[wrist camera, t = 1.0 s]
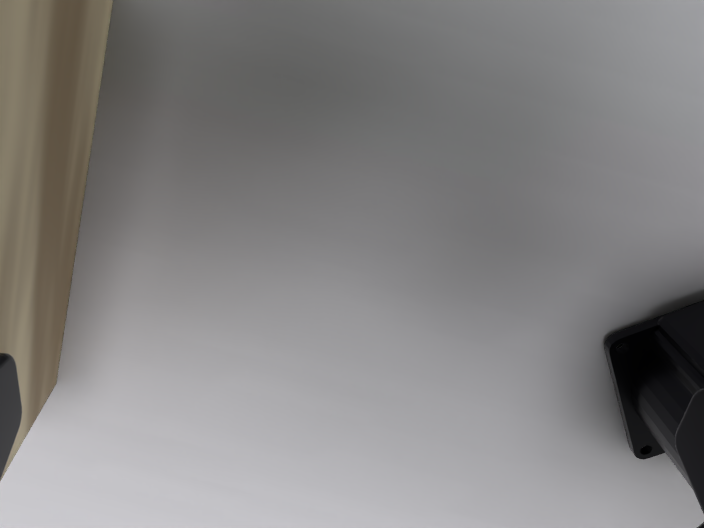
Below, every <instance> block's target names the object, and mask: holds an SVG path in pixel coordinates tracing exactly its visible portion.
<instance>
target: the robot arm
mask: <svg viewBox="0 0 704 528" xmlns="http://www.w3.org/2000/svg"><path fill="white" fill-rule="evenodd" d="M623 343H624V344H623ZM620 344H623V345H622V347H620V348H617V346H618V345H620ZM616 348H617V349H616ZM605 351H606V355H607V359H608V363H609V367H610V371H611V375H612V379H613V383H614V387H615V391H616V395H617V399H618V403H619V407H620V411H621V415H622V418H623V422H624V426H625V430H626V434H627V438H628V442H629V446H630V448H631V450H632V452H633V453H634V455H635V456H636V457H637V458H639V459H647V458H651V457H653V456H656V455H659V454H662V453H665V452H666V454H667V455H668V456H669V458H670V459H671V461H672V462H673V463H674V465H675V466H676V467H677V469H678V470H679V471H680V473H681V474H682V475H683V477H684V478H685V479H686V481H687V482H688V483H689V485H690V486H691V488H692V489H693V490H694V492H695V495H696V497H697V499H698V502H699V504H700V506H701V509H702V511H703V513H704V301H701V302H698V303H696V304H693V305H690V306H687V307H685V308H682V309H679V310H676V311H674V312H671V313H668V314H665V315H663V316H660V317H657V318H654V319H652V320H649V321H646V322H643V323H641V324H638V325H635V326H633V327H630V328H627V329H624V330H622V331H619V332H616V333H614V334H612V335H610V336H609V337H608V338H607V339H606V342H605ZM21 418H22V403H21V396H20V389H19V382H18V375H17V367H16V363H15V360H14V358H13V357H12V356H11V355H9V354H7V353H0V480H1V477H2V474H3V471H4V469H5V466H6V463H7V460H8V458H9V455H10V452H11V449H12V447H13V444H14V441H15V438H16V436H17V433H18V430H19V427H20V423H21ZM697 528H704V522H703V523H702V524H701V525H700V526H699V527H697Z"/></svg>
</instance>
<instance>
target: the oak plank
mask: <svg viewBox="0 0 704 528" xmlns="http://www.w3.org/2000/svg"><path fill="white" fill-rule="evenodd" d="M112 4H113V0H0V353H7V354H9V355H11V356H12V357H13V358H14V360H15V363H16V367H17V375H18V382H19V389H20V396H21V403H22V418H21V423H20V427H19V430H18V433H17V436H16V438H15V441H14V444H13V447H12V449H11V452H10V455H9V458H8V460H7V463H6V466H5V469H4V471H3V474H2V477H3V476H4V474H5V472H6V470H7V469H8V467H9V465H10V463H11V462H12V460H13V458H14V456H15V455H16V453H17V451H18V449H19V448H20V446H21V444H22V442H23V441H24V439H25V437H26V435H27V434H28V432H29V430H30V428H31V427H32V425H33V423H34V421H35V420H36V418H37V416H38V414H39V413H40V411H41V409H42V407H43V406H44V404H45V402H46V400H47V399H48V397H49V395H50V393H51V392H52V390H53V388H54V386H55V385H56V382H57V375H58V368H59V361H60V355H61V348H62V341H63V334H64V328H65V321H66V314H67V307H68V301H69V294H70V287H71V281H72V274H73V267H74V260H75V254H76V247H77V240H78V233H79V227H80V220H81V213H82V206H83V200H84V193H85V186H86V180H87V173H88V166H89V159H90V153H91V146H92V139H93V132H94V126H95V119H96V112H97V105H98V99H99V92H100V85H101V79H102V72H103V65H104V58H105V52H106V45H107V38H108V31H109V25H110V18H111V11H112ZM2 477H1V479H2ZM0 481H1V480H0Z"/></svg>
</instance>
